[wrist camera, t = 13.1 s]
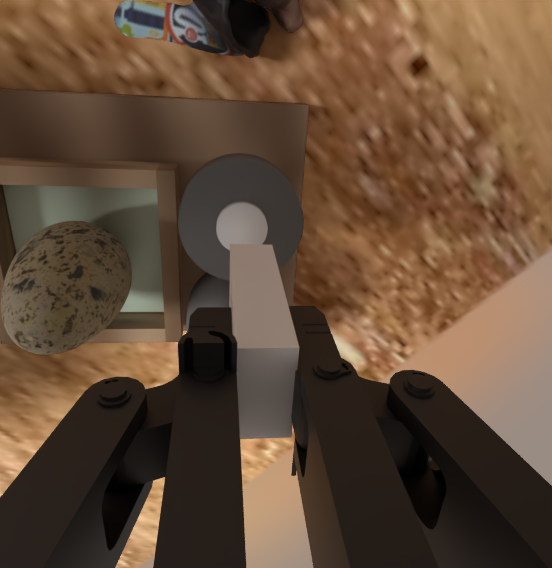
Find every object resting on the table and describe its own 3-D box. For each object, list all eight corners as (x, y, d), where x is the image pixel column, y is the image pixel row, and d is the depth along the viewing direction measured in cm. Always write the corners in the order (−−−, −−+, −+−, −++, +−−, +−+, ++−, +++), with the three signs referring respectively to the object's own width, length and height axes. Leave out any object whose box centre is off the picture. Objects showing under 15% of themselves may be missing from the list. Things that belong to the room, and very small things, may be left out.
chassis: (0, 322, 32) (-45, 376, 26) (-57, 85, 25) (-132, 92, 20) (288, 321, 34) (301, 370, 29) (305, 103, 28) (325, 114, 22)
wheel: (183, 264, 25) (179, 286, 23) (179, 150, 22) (174, 162, 20) (292, 264, 26) (300, 287, 23) (301, 155, 23) (310, 167, 21)
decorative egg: (124, 306, 31) (84, 408, 22) (30, 275, 29) (-55, 372, 20) (153, 227, 28) (123, 305, 19) (54, 189, 27) (-30, 255, 18)
